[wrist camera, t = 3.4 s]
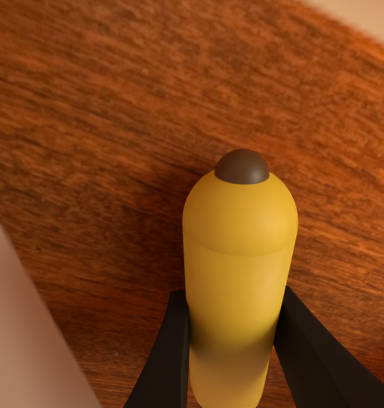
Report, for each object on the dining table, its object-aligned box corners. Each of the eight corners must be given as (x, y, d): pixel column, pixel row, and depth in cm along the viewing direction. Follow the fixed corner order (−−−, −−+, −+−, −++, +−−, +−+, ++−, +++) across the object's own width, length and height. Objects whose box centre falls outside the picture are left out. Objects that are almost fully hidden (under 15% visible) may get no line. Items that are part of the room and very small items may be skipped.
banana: (249, 361, 15) (267, 438, 12) (190, 364, 15) (192, 442, 12) (284, 133, 9) (342, 171, 6) (179, 136, 9) (178, 177, 5)
